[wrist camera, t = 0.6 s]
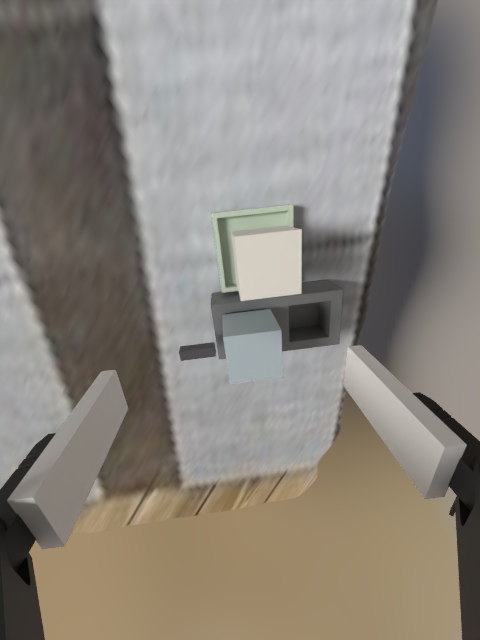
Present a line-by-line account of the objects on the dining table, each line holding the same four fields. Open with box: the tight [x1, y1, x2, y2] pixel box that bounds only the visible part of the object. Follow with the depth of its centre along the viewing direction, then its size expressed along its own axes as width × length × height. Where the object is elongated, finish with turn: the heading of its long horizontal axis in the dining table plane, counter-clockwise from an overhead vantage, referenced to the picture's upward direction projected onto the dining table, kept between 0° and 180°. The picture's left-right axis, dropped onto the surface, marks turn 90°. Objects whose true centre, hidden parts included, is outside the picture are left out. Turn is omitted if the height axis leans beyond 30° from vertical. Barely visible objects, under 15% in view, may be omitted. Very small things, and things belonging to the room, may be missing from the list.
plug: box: [231, 226, 302, 301], centre depth 28 cm, size 6×6×11 cm
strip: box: [179, 280, 343, 385], centre depth 32 cm, size 8×21×12 cm, turn 96°
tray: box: [211, 205, 293, 293], centre depth 33 cm, size 10×10×2 cm
